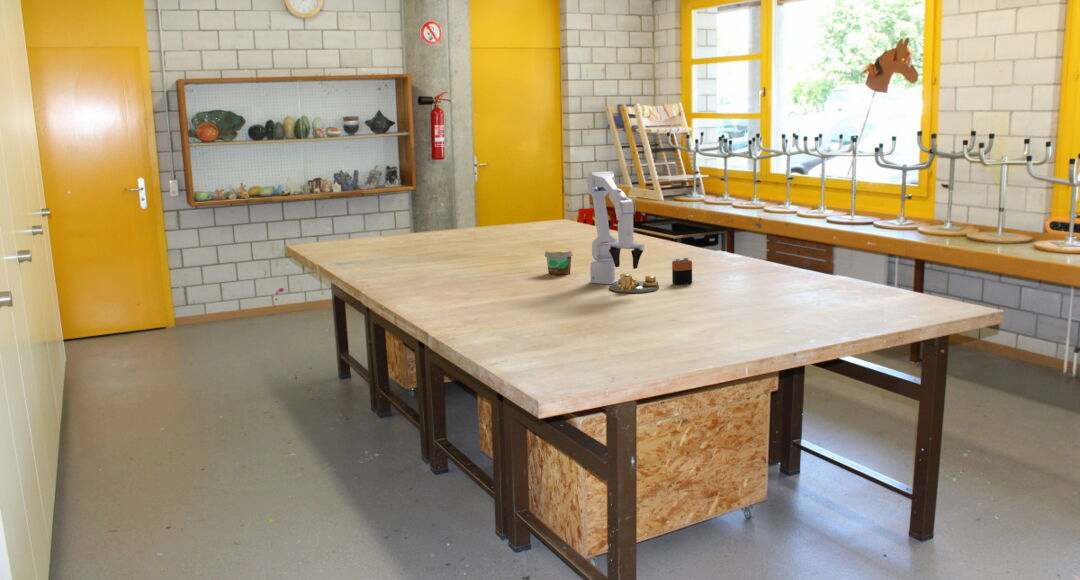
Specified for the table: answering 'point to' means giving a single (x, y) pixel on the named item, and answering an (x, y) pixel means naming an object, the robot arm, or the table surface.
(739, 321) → the table surface
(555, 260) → the food container
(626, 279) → the planet gear
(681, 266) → the battery
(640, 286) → the carrier
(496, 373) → the table surface
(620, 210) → the robot arm
